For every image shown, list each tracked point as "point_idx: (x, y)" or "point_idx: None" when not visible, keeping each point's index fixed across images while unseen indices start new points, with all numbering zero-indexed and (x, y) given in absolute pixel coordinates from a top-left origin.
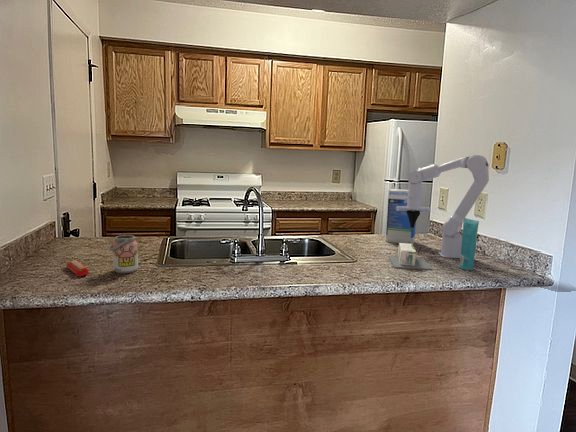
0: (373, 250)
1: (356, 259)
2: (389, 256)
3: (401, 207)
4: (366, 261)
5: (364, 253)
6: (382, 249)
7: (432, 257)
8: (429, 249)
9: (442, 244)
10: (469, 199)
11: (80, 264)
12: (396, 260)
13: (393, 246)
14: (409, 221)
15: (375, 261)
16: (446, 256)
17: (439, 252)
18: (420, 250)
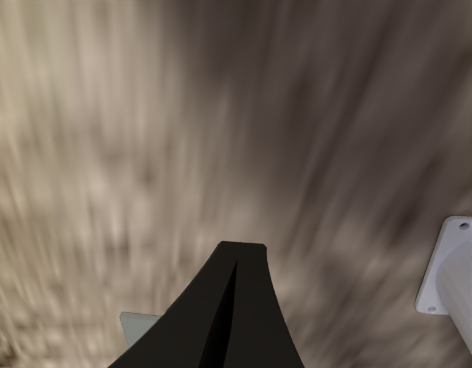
0: (29, 199)
1: (7, 339)
2: (124, 321)
3: None
4: (48, 357)
5: (5, 261)
6: (73, 166)
7: (352, 301)
8: (442, 101)
9: (468, 340)
10: None
11: None
12: None
13: (141, 49)
14: (182, 296)
15: (79, 357)
16: (441, 313)
17: (452, 234)
18: (340, 151)
